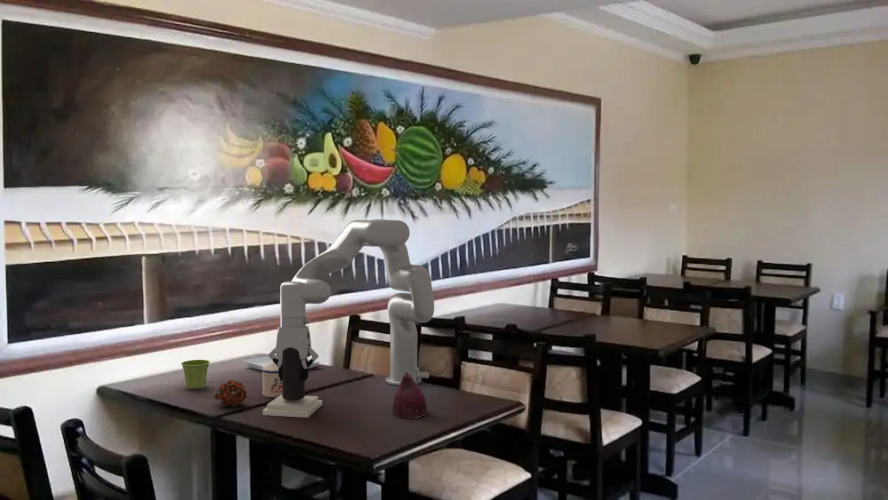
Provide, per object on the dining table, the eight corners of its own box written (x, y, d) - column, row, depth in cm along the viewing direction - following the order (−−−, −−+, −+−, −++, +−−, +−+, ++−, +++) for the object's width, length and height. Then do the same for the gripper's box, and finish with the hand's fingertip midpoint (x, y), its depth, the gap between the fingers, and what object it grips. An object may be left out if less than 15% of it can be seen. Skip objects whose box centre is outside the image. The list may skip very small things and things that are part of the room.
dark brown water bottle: (286, 394, 239) (285, 331, 237) (307, 395, 238) (307, 331, 237) (279, 400, 232) (278, 335, 231) (301, 401, 232) (300, 335, 230)
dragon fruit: (240, 415, 235) (221, 412, 244) (258, 394, 240) (239, 393, 249) (223, 395, 232) (204, 393, 240) (242, 375, 237) (223, 374, 245)
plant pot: (175, 389, 260) (175, 363, 259) (194, 383, 268) (193, 358, 268) (197, 391, 256) (197, 366, 255) (216, 385, 265) (215, 360, 264)
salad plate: (321, 369, 293) (321, 360, 292) (273, 378, 277) (273, 369, 277) (288, 361, 307) (288, 352, 307) (241, 369, 292) (241, 360, 292)
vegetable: (414, 431, 226) (412, 386, 221) (385, 420, 231) (384, 376, 226) (433, 414, 234) (433, 370, 229) (406, 404, 240) (404, 362, 235)
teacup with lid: (271, 399, 247) (271, 363, 246) (256, 394, 254) (256, 359, 253) (302, 393, 256) (302, 358, 255) (287, 388, 262) (287, 354, 261)
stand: (322, 405, 241) (322, 395, 241) (307, 417, 227) (307, 407, 227) (279, 402, 243) (279, 393, 243) (262, 415, 229) (262, 405, 229)
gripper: (324, 320, 236) (324, 378, 237) (270, 319, 239) (271, 376, 240) (316, 325, 229) (317, 384, 230) (261, 323, 231) (261, 382, 232)
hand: (293, 379), depth 235 cm, fingers closed on dark brown water bottle, 6 cm apart
